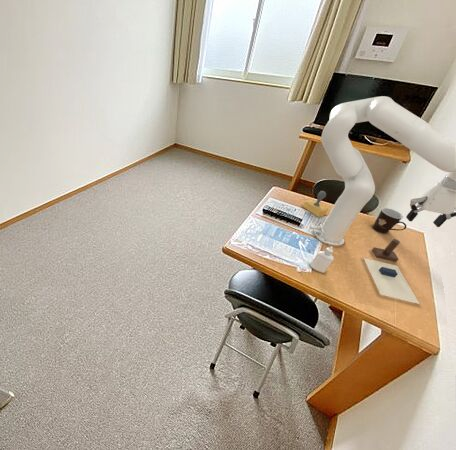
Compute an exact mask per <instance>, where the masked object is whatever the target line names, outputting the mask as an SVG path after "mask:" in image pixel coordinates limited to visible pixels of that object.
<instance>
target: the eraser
mask: <svg viewBox="0 0 456 450" xmlns="http://www.w3.org/2000/svg"><path fill="white" fill-rule="evenodd" d="M379 271H380V273H381V274H382V275H386V276H390V277H394V278H395V277H396V276H397V275H398V274H397V272H396V270H393V269H389V268H385V267H381V268H380V269H379Z"/></svg>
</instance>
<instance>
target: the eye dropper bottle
mask: <svg viewBox="0 0 456 450" xmlns="http://www.w3.org/2000/svg"><path fill="white" fill-rule="evenodd" d="M333 248H334V247H333V245H331V246H329V247H326V248H325V250H319V251H318V252H317V254H316V255H315V257H314V258H313V260H312V261H311V263H310V267H311V269H313V270H314V271H316V272H319V273H322V274H324V273H326V271H327V270H328V269H329V267H330V266H331V265H332V263H333V262H334V256H333V253H334V249H333Z"/></svg>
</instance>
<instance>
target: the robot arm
mask: <svg viewBox="0 0 456 450" xmlns="http://www.w3.org/2000/svg"><path fill="white" fill-rule="evenodd" d="M363 122H364V123H365V122H369V123H370V124H371V125H372V126H374V127H375V128H377V129H378V130H380V131H382V132H384V134H386V135H388V136H390V138H393V139H394V140H396V141H397V142H399V143H400V144H402V145H403V146H404V147H406V148H407V149H409V150H410V151H412V152H414V153H415V154H416V155H418V156H419V157H420V158H422V159H423V160H425V161H426V162H428V163H429V164H431V165H432V166H434V167H435V168H437V169H438V170H441V171H443V172H446V173H447V174H446V175H445V176H444V177H443V179H442V180H441V181H440V182H436V183H434V184H433V185H432V186H431V187H430V188H429V189H428V190H427V191H425V193H424V194H423V195H421V197H417V198H411V199H410V203H409V206H410V209H411V210H410V211H409V212H408V213H407V215H405V216H406V219H407V220H408V221H409V222H413V221H414V220H415V219H416V218H417V216H418V215H419V213H420V212H423V211H427V212H432V213H438V214H439V215H438V216H437V217H436V218H435V219H434V221H433V222H432V223H433V225H434V226H436V228H440V227H441V226H442V225H443V224H445V222H446V221H447V220H450V219H451V218H454V217H456V141H450V140H449V139H447V138H446V137H445V136H443V135H441V133H439V132H438V131H437V130H436V129H435V128H434V127H433V126H432V125H431V124H430V123H429V122H427V121H425V120H424V119H422V118H421V117H419V116H417V115H416V114H414V113H413V112H412V111H410V110H408V109H406V108H405V107H403V106H402V105H400V104H399V103H397V102H395V101H394V99H392V97H390V96H385V95H384V96H383V95H381V96H374V97H367V98H363V99H357V100H352V101H347V102H342V103H339V104H337V105H335V106H334V107H333V108H332V109H331V111H330V113H329V120H328V121H327V123H326V124H325V126H324V128H323V129H322V132H321V137H320V138H321V144H322V147H323V150H324V151H325V153H326V155H327V157H328V159H329V161H330V163H331V165H332V167H333V170H334V171H335V173H336V174H337V175H338V176H339V177H341V178H342V180H343V182H344V189H343V191H342V193H341V194H340V195H339V196H338V197H337V200H336V201H335V203H334V204H333V205H332V208H331V209H330V211H329V213H328V214H327V217H326V218H325V220H324V221H323V223H319V225H314V224H309V226H308V229H309V230H312V232H313V233H314V236H315V237H316V239H317V240H319V241H320V242H321V243H323V244H326V245H331V246H341V245H344V244H345V238H344V237H345V235H346V233H347V232H348V231H349V229H350V227H352V225H353V223H354V221H355V220H356V218H357V217H358V215H359V214H360V212H361V211H362V210H363V208H364V207H365V206H366V205H367V203H368V202H369V201H371V199H372V198H373V197H374V195H375V192H376V191H375V190H376V184H375V180H374V178H373V175H372V173H371V171H370V169H369V166H368V164H367V163H366V161H365V159H364V156H362V153H361V152H360V150H358V149H357V148H355V147H354V146H353V143H352V142H351V139H350V138H349V133H350V132H351V130H352V128H353V127H354V126H355V125H356V124H359V123H363Z"/></svg>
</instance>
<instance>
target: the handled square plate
mask: <svg viewBox="0 0 456 450" xmlns="http://www.w3.org/2000/svg"><path fill="white" fill-rule="evenodd" d="M400 244H401V241H400V240H398V239H396V238H393V239H392V240H391V241H390V242H389V243H388V244H387V246H386V247H385V248H379V247H375V246H374V247H373V248H371V251H372V253H373V255H374V257H375V259H380V260H385V261H390V262H394V263H398V261H399V257H398V256H397V254H396V252H395V251H394V250H395V249H396V248H397V247H398V246H399V245H400Z"/></svg>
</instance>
